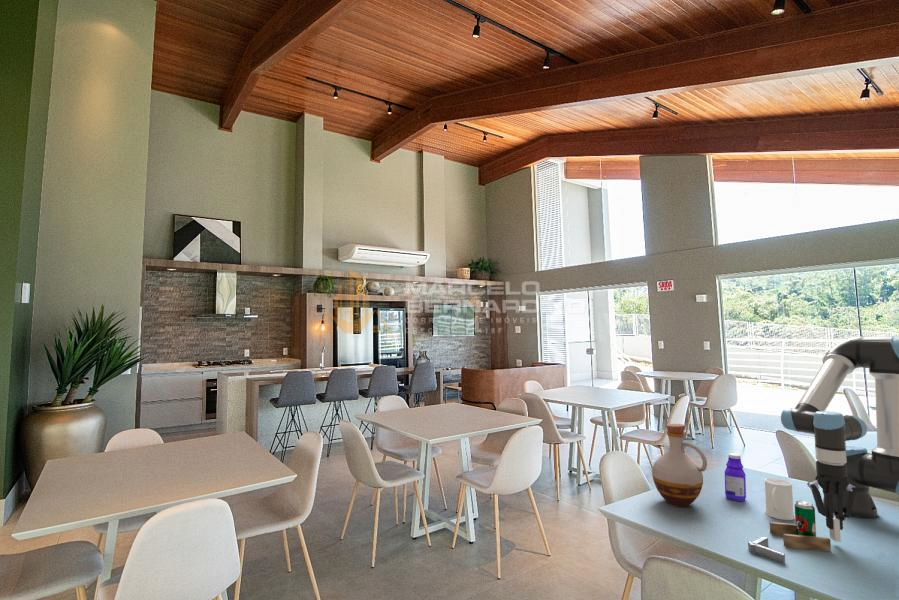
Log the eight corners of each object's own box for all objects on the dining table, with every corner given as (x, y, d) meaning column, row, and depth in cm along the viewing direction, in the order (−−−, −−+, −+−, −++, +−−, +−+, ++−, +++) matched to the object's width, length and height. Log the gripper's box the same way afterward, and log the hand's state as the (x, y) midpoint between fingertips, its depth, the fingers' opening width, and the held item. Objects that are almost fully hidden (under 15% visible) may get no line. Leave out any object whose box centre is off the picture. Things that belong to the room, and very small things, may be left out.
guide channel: (811, 536, 147) (811, 525, 147) (831, 551, 137) (830, 539, 137) (770, 532, 150) (769, 521, 150) (785, 547, 140) (785, 535, 140)
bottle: (746, 498, 181) (744, 453, 182) (746, 503, 176) (744, 457, 177) (725, 495, 185) (723, 451, 186) (724, 499, 180) (723, 454, 181)
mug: (785, 524, 156) (784, 488, 157) (757, 516, 163) (756, 482, 164) (798, 516, 163) (796, 482, 164) (770, 509, 170) (769, 476, 171)
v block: (767, 545, 141) (766, 536, 141) (786, 564, 129) (786, 555, 129) (741, 542, 143) (741, 534, 143) (758, 561, 131) (758, 552, 131)
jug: (714, 504, 175) (712, 424, 177) (702, 517, 162) (699, 432, 164) (661, 492, 188) (659, 418, 190) (645, 503, 175) (643, 424, 177)
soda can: (817, 547, 139) (815, 507, 140) (797, 543, 142) (795, 504, 143) (815, 541, 144) (813, 502, 145) (795, 537, 146) (793, 499, 147)
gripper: (847, 460, 145) (852, 536, 143) (800, 457, 148) (804, 532, 146) (863, 466, 138) (868, 547, 136) (813, 464, 141) (817, 542, 139)
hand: (835, 539), depth 141 cm, fingers closed
